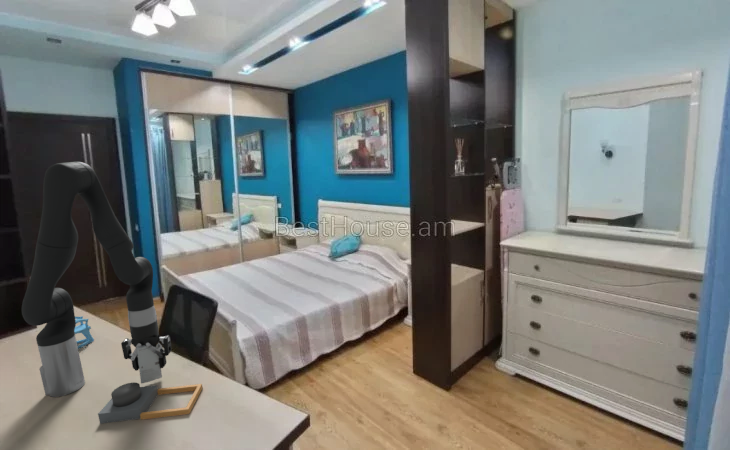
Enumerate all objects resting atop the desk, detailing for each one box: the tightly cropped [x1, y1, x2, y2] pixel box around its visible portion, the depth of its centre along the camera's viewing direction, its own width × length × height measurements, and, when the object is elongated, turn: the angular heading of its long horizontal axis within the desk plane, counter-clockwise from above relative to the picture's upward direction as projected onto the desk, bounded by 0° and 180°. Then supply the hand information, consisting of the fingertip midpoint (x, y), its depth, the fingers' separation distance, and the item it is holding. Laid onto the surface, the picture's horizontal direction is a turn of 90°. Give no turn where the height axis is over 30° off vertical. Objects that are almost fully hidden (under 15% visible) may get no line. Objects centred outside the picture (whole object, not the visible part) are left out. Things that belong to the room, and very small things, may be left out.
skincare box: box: [137, 344, 163, 384], centre depth 118 cm, size 6×4×12 cm
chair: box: [74, 315, 95, 350], centre depth 147 cm, size 8×8×12 cm
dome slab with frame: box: [97, 382, 203, 424], centre depth 108 cm, size 24×12×6 cm, turn 97°
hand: (150, 367), depth 118 cm, fingers closed on skincare box, 7 cm apart
